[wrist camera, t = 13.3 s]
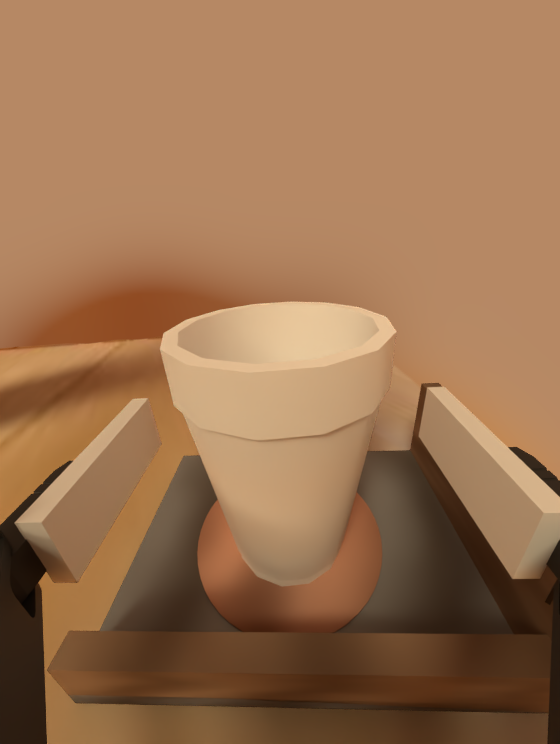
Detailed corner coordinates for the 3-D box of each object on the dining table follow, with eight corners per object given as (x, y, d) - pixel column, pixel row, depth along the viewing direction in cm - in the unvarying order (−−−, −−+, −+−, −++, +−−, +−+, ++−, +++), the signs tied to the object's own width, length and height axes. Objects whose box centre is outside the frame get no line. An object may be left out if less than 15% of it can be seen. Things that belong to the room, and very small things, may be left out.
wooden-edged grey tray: (75, 703, 12) (-4, 612, 9) (185, 463, 25) (167, 392, 22) (579, 713, 11) (674, 615, 8) (423, 457, 24) (438, 383, 21)
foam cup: (321, 676, 12) (325, 404, 6) (178, 555, 17) (109, 342, 11) (388, 508, 19) (418, 309, 13) (273, 457, 24) (260, 297, 18)
